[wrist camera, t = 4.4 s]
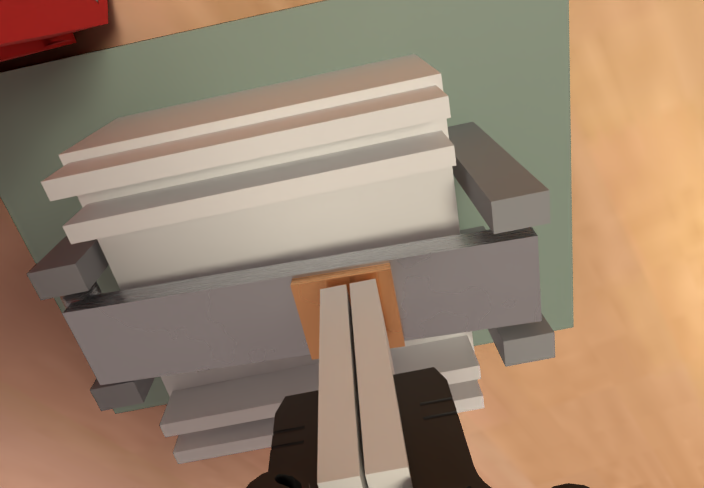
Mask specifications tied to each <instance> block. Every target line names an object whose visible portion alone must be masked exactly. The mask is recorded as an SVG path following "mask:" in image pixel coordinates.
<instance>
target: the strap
mask: <svg viewBox="0 0 704 488" xmlns="http://www.w3.org/2000/svg"><path fill="white" fill-rule="evenodd" d="M370 279H376V284H377V288H378V293H379V298H380V303H381V308H382V312H383V317H384V322H385V327H386V332H387V336H388V341H389V346H390V348H397V347H404V346H405V341H408V340H415V339H422V338H429V337H436V336H443V335H449V334H456V333H463V332H470V331H477V330H484V329H491V328H498V327H504V326H511V325H518V324H525V323H532V322H539V321H542V314H541V293H540V272H539V250H538V235H537V234H536V232H535V231H534V229H533V228H532V227H528V228H523V229H518V230H513V231H508V232H503V233H498V234H493V232H492V231H491V229H489V230H483V231H477V232H471V233H464V234H458V235H452V236H446V237H440V238H434V239H428V240H422V241H416V242H410V243H404V244H398V245H392V246H386V247H380V248H374V249H368V250H362V251H356V252H350V253H344V254H338V255H332V256H326V257H320V258H314V259H308V260H302V261H295V262H289V263H283V264H277V265H271V266H265V267H259V268H253V269H247V270H241V271H235V272H229V273H223V274H217V275H211V276H205V277H199V278H193V279H187V280H181V281H175V282H169V283H163V284H157V285H151V286H145V287H139V288H132V289H126V290H120V291H114V292H108V293H102V292H101V290H100V287H99V285H98V283H97V281H96V282H95V283H94V285H93V286H92V287H91V288H90V290H89V291H85V292H80V293H75V294H70V295H65V296H60V299H61V300H62V302H63V304H64V306H65V308H66V309H65V311H64V312H63V313H62V314H63V316H64V318H65V320H66V322H67V323H68V325H69V327H70V329H71V331H72V333H73V335H74V337H75V338H76V340H77V342H78V344H79V346H80V348H81V350H82V352H83V354H84V355H85V357H86V359H87V361H88V363H89V365H90V367H91V369H92V371H93V372H94V374H95V376H96V378H97V380H98V382H99V384H100V385H105V384H112V383H119V382H126V381H133V380H140V379H147V378H154V377H161V376H167V375H174V374H181V373H188V372H195V371H202V370H209V369H216V368H222V367H229V366H236V365H243V364H250V363H257V362H264V361H271V360H277V359H284V358H291V357H298V356H305V355H311V358H312V360H314V359H319V331H320V289H325V288H330V287H335V286H340V285H345V284H346V286H347V290H348V295H349V299H350V303H351V297H350V285H349V284H350V283H355V282H360V281H365V280H370Z"/></svg>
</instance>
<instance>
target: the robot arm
mask: <svg viewBox="0 0 704 488" xmlns="http://www.w3.org/2000/svg"><path fill="white" fill-rule="evenodd" d="M349 285H350V297H351V303H350V299H349V295H348V290H347V286H346V284H345V285H340V286H335V287H330V288H325V289H320V331H319V390H316V391H311V392H306V393H301V394H295V395H290V396H285V398H284V399H283V401H282V403H281V404H280V406H279V408H278V409H277V411H276V413H275V418H274V427H273V435H272V444H271V448H272V450H271V452H270V461H269V469H268V472H266V473H264V474H262V475H260V476H259V477H257V478H256V479H255V480H253V481H252V482H250V484H249V485H248V486H247V487H246V488H491V487H490V486H488V485H487V484H486V483H485V482H484V481H483V480H482V479H481V478H480V477H479V475H478V474H477V472H476V470H475V467H474V465H473V462H472V458H471V455H470V452H469V449H468V446H467V442H466V439H465V436H464V433H463V429H462V426H461V423H460V420H459V417H458V414H457V410H456V407H455V404H454V400H453V398H452V394H451V391H450V388H449V384H448V381H447V379H446V378H445V377H444V376H443V375H442V374H441V373H440V372H439V371H438V370H437V369H435V368H434V367H431V368H426V369H421V370H415V371H410V372H405V373H399V374H395V373H394V367H393V361H392V356H391V351H390V346H389V341H388V336H387V332H386V327H385V322H384V317H383V312H382V308H381V303H380V298H379V293H378V288H377V284H376V279H370V280H365V281H360V282H355V283H350V284H349ZM552 488H589V487H587V486H585V485H577V484H569V483H568V484H563V485H558V486H554V487H552Z"/></svg>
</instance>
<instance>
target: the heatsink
mask: <svg viewBox="0 0 704 488" xmlns="http://www.w3.org/2000/svg"><path fill="white" fill-rule="evenodd" d="M0 197H1V199H2V201H3V203H4V205H5V206H6V208H7V210H8V212H9V214H10V216H11V218H12V220H13V222H14V223H15V225H16V227H17V229H18V231H19V233H20V235H21V237H22V239H23V240H24V242H25V244H26V246H27V248H28V250H29V252H30V254H31V256H32V257H33V259H34V261H35V263H36V265H35V266H34V267H33V268H32V269H31V270H30V271H29V272H28V273H27V276H28V277H29V279H30V281H31V283H32V285H33V287H34V289H35V290H36V292H37V294H38V296H39V298H40V300H45V299H50V298H54V299H55V301H56V303H57V305H58V306H59V308H60V310H61V312H62V313H63V312H64V311H65V309H66V308H65V306H64V304H63V302H62V300H61V299H60V296H65V295H70V294H75V293H80V292H85V291H89V290H90V288H91V287H92V286H93V285H94V283H95V282H96V281H97V283H98V285H99V287H100V290H101V292H102V293H108V292H114V291H120V290H126V289H132V288H139V287H145V286H151V285H157V284H163V283H169V282H175V281H181V280H187V279H193V278H199V277H205V276H211V275H217V274H223V273H229V272H235V271H241V270H247V269H253V268H259V267H265V266H271V265H277V264H283V263H289V262H295V261H302V260H308V259H314V258H320V257H326V256H332V255H338V254H344V253H350V252H356V251H362V250H368V249H374V248H380V247H386V246H392V245H398V244H404V243H410V242H416V241H422V240H428V239H434V238H440V237H446V236H452V235H458V234H464V233H471V232H477V231H483V230H489V229H491V231H492V232H493V234H498V233H503V232H508V231H513V230H518V229H523V228H528V227H532V228H533V229H534V231H535V232H536V234H537V235H538V250H539V272H540V293H541V314H542V321H539V322H532V323H525V324H518V325H511V326H504V327H498V328H491V329H484V330H477V331H470V332H463V333H456V334H449V335H443V336H436V337H429V338H422V339H415V340H408V341H405V346H404V347H397V348H390V351H391V356H392V361H393V367H394V373H395V374H399V373H405V372H410V371H415V370H421V369H426V368H431V367H434V368H435V369H437V370H438V371H439V372H440V373H441V374H442V375H443V376H444V377H445V378H446V379H447V381H448V384H449V388H450V391H451V394H452V398H453V400H454V404H455V407H456V410H457V413H459V412H465V411H470V410H476V409H481V408H484V400H483V394H482V392H481V389H480V387H479V384H478V381H477V380H478V379H481V374H480V365H479V363H478V361H477V358H476V356H475V353H474V346H477V345H482V344H487V343H493V342H494V343H495V345H496V348H497V350H498V352H499V354H500V356H501V358H502V360H503V362H504V364H505V366H511V365H517V364H522V363H527V362H533V361H538V360H543V359H549V358H554V357H555V337H554V331H556V330H561V329H567V328H572V327H573V264H572V197H571V129H570V61H569V0H324V1H320V2H315V3H311V4H306V5H302V6H297V7H293V8H288V9H284V10H279V11H275V12H270V13H266V14H261V15H257V16H252V17H248V18H243V19H239V20H234V21H229V22H225V23H220V24H216V25H211V26H207V27H202V28H198V29H193V30H189V31H184V32H180V33H175V34H171V35H166V36H162V37H157V38H153V39H148V40H144V41H139V42H135V43H130V44H126V45H121V46H117V47H112V48H108V49H103V50H98V51H94V52H89V53H85V54H80V55H76V56H71V57H67V58H62V59H58V60H53V61H49V62H44V63H40V64H35V65H31V66H26V67H22V68H17V69H13V70H8V71H4V72H0ZM316 390H319V359H314V360H312V358H311V355H305V356H298V357H291V358H284V359H277V360H271V361H264V362H257V363H250V364H243V365H236V366H229V367H222V368H216V369H209V370H202V371H195V372H188V373H181V374H174V375H167V376H161V377H154V378H147V379H140V380H133V381H126V382H119V383H112V384H105V385H100V384H99V382H98V380H97V378H96V380H95V382H94V384H93V385H92V387H91V389H90V391H91V393H92V395H93V397H94V399H95V400H96V402H97V404H98V406H99V408H100V410H101V411H104V410H109V409H113V410H114V412H115V414H117V413H122V412H128V411H133V410H138V409H144V408H149V407H154V406H159V405H165V404H167V407H166V409H165V412H164V414H163V417H162V420H161V422H160V425H159V426H160V428H161V430H162V432H163V434H164V436H165V437H170V436H175V435H178V438H177V442H176V445H175V448H174V451H173V454H174V456H175V458H176V461H177V463H178V464H182V463H187V462H193V461H198V460H204V459H209V458H215V457H220V456H225V455H231V454H236V453H242V452H247V451H253V450H258V449H264V448H269V447H271V444H272V435H273V427H274V418H275V413H276V411H277V409H278V408H279V406H280V404H281V403H282V401H283V399H284V398H285V396H290V395H295V394H301V393H306V392H311V391H316Z"/></svg>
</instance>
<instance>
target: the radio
mask: <svg viewBox="0 0 704 488" xmlns="http://www.w3.org/2000/svg"><path fill="white" fill-rule="evenodd" d="M104 24H108V2H107V0H0V62H3V61H7V60H11V59H14V58H18V57H22V56H26V55H30V54H34V53H38V52H42V51H46V50H50V49H54V48H58V47H62V46H66V45H69V44H73V43H77V42H76V40H75V37H74V35H73V32H77V31H81V30H85V29H89V28H93V27H96V26H100V25H104Z"/></svg>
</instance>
